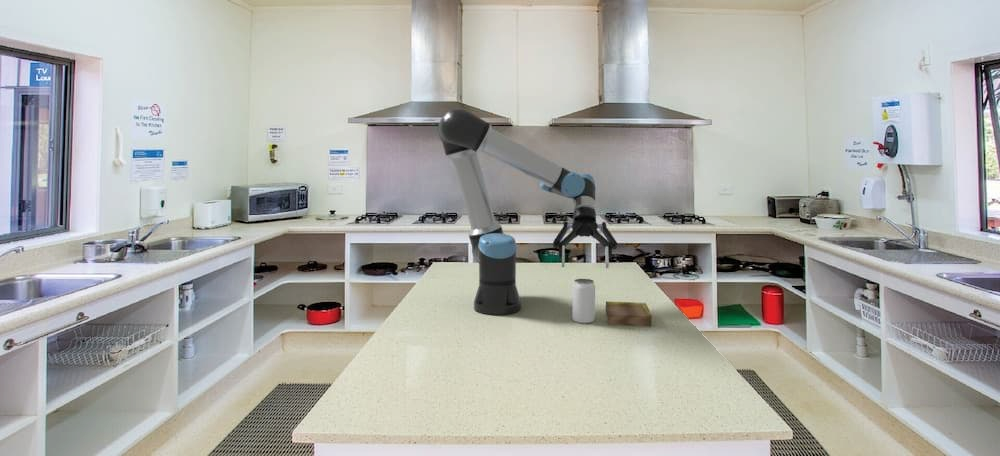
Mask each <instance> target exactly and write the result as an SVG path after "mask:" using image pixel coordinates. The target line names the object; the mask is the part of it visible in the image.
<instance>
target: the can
mask: <svg viewBox="0 0 1000 456" xmlns="http://www.w3.org/2000/svg"><path fill="white" fill-rule="evenodd" d="M595 310H596V285H595V281H594V280H593V279H592V278H591V279H589V278H577V279H574V283H573V285H572V313H571V315H572V318H571V319H572V320H573V322H575V323H577V324H583V325H585V324H587V325H588V324H593V322H594V321H595V316H596V315H595V314H596V313H595V312H596V311H595Z"/></svg>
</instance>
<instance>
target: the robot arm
mask: <svg viewBox="0 0 1000 456" xmlns="http://www.w3.org/2000/svg"><path fill="white" fill-rule="evenodd" d="M437 134H438V138H439V139H440V141H441V144H442V146H443V150H444V153H445V157H446V158H448V159H450V160H451V161H452V164H453V168H454V171H455V177H456V179H457V183H458V186H459V189H460V194H461V197H462V199H463V204H464V207H465V211H466V214H467V218H468V220H469V225H470V231H469V232H468V237H469V240H470V244H471V254H472V256H473V258H474V259H475V261H476V262H477V263H478V267H479V269H478V278H479V279H478V281H479V282H478V288H477V291H476V294H475V297H474V301H473V310H474V311H475V312H478V313H481V314H485V315H496V316H497V315H498V316H500V315H501V316H502V315H509V314H514V313H517V312H520V310H521V309H522V301H521V297H520V294H519V292H518V288H517V281H516V279H517V278H516V275H517V272H516V271H517V265H516V264H517V258H516V257H517V243H516V239H515V238H514V237H513V236H512V235H510V234H506V233H504V231H503V227H502V225H501V224H500V223H499V222H497V221H496V218H495V214H494V211H493V208H492V204H491V200H490V197H489V193H488V190H487V186H486V185H487V184H486V183H485V179H484V176H483V172H482V166H481V164H480V159H479V157H478V153H479V152H482V153H484V154H486V155H488V156H490V157H491V158H493V159H495V160H497V161H499V162H500V163H503V164H504V165H506V166H509V167H510V168H512V169H513V170H516V171H519V172H520V173H522V174H524V175H526V176H528V177H529V178H531V179H533V180H535V181H537V182H539V183H540V184H539V186H540V187H539V188H540V189H541V190H542V191H545V192H548V193H551V194H554V195H558V196H560V197H561V196H562V197H566V198H568V199H572V200H573V201H572V202H573V203H572V205H573V207H572V208H573V209H572V211H573V213H572V215H573V218H572V219H573V220H572V223H568V221H564V222H563V226H562V228H561V230H560V231H559V232H558V233H557V235H556V237H555V238H554V240H553V242H552V243H553V244H552V245H553V246H552V247H553V248H554V249H558V258H561V267H562V268H565V258H566V257H565V255H566V254H565V249H566V248H565V247H566V246H568V244H570V243H571V242H572V241H573V240H574V239H576V238H577V237H578V236H579V237H592V238H593V239H595V240H596V241H597V242H598V243H599V244H600V245H602V247H604V249H605V250H604V255H605V269H609V267H610V261H609V259H612V258H613V250H617V248H618V242H617V241H616V239H615V237H614V236H613V235H612V233H611V232H610V230H609V228H608V227H607V223H606V222H605V221H603V222H601V223H597V213H596V212H597V209H596V207H597V204H596V183H595V179H594V177H593V176H592V175H590V174H589V173H577V172H573V171H570V170H568V169H566V168H564V167H563V166H561V165H559V164H557V163H556V162H553V161H551V160H550V159H548V158H546V157H545V156H543V155H541V154H539V153H537V152H535V151H534V150H532V149H530V148H528V147H526V146H524V145H522V144H520V143H518V142H517V141H515V140H513V139H511V138H510V137H507V136H506V135H504V134H502V133H500V132H499V131H497V130H495V129H493V127H492V124H491V123H490V122H487V121H486V120H484V119H482V118H480V117H479V116H478V115H476V114H475V113H473V112H472V111H469V110H468V109H466V108H461V107H455V108H452V109H450V110H448V111H447V112H446V113H445V114H444V115H443V116H442V118H441V119H440V120H439V122H438V126H437ZM571 229H572V230H571ZM598 229H599V231H601V232H602V234H603V235H602V234H601V233H600V232H599V231H598ZM569 230H571V232H570V233H569V234H567V232H568V231H569ZM566 234H567V236H566Z"/></svg>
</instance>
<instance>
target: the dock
mask: <svg viewBox="0 0 1000 456" xmlns="http://www.w3.org/2000/svg"><path fill="white" fill-rule="evenodd" d="M605 315H606V317H605V318H606V321H607V326H625V327H626V326H629V327H631V326H632V327H648V328H649V327H652V317H653V316H652V312H651V310H650V309H649V307H648V305H647V303H646V302H630V301H628V302H627V301H605Z"/></svg>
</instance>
